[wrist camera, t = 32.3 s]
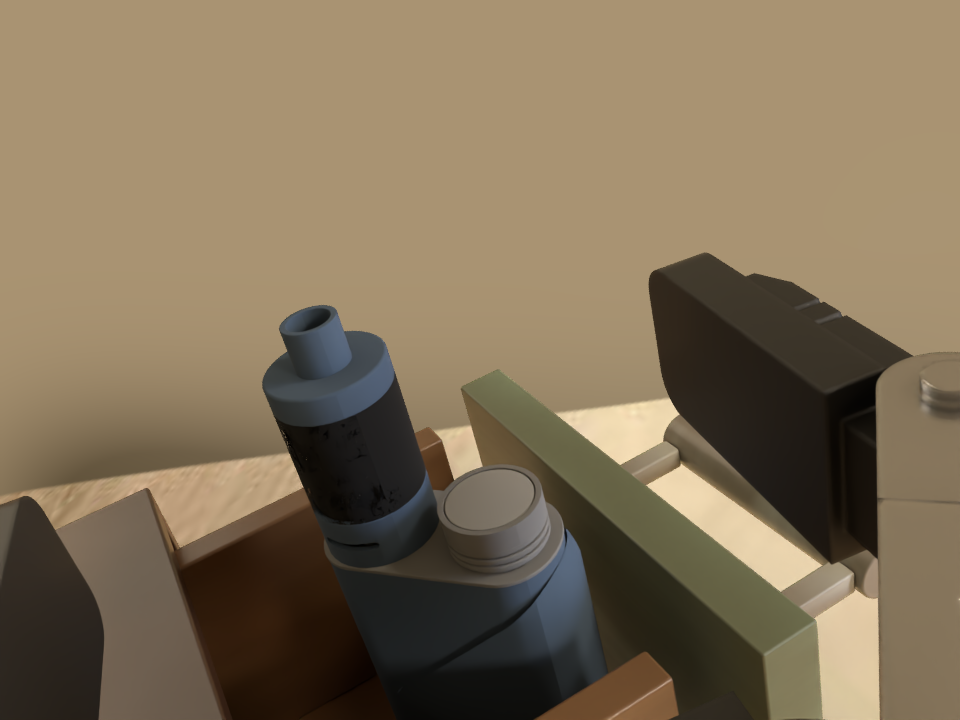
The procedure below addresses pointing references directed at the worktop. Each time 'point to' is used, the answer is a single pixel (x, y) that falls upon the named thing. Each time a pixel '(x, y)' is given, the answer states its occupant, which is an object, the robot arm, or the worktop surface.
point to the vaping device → (431, 543)
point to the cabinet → (144, 616)
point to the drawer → (608, 566)
